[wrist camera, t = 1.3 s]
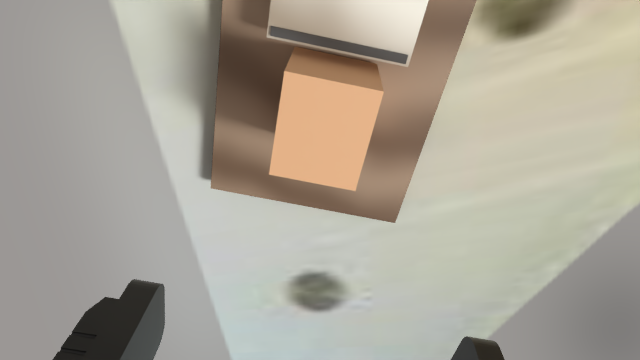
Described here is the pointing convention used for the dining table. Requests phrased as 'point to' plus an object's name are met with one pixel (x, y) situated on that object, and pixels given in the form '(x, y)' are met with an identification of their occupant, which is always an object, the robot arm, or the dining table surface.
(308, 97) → the light orange cube
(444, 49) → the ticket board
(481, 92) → the dining table surface
